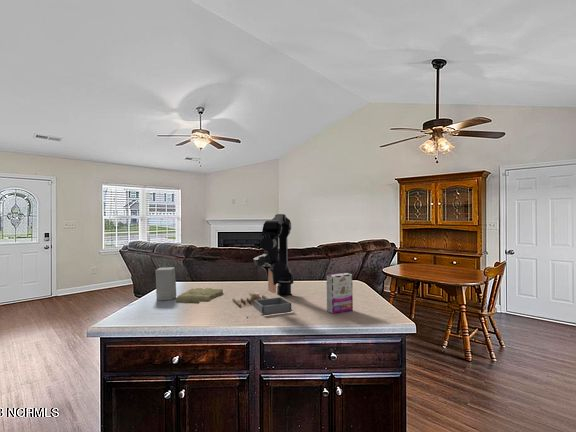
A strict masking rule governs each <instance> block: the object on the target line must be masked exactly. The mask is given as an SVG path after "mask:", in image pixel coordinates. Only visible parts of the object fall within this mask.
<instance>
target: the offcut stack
mask: <svg viewBox="0 0 576 432" xmlns="http://www.w3.org/2000/svg"><path fill="white" fill-rule="evenodd" d="M248 296H249V297H250V298H249V299H250V300H251V302H252V303H253V304H254V300H260V299H261V298H262V296H260V293H259V292H257V291H251V292H249V293H248Z"/></svg>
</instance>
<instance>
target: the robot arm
mask: <svg viewBox="0 0 576 432" xmlns="http://www.w3.org/2000/svg"><path fill="white" fill-rule="evenodd" d="M291 230H292V222H291V220H290V219H289V218H288V217H287V216H286V214H284V213H277V214H275V216H274V217H273V218H272V219H271V220H269V219H268V220H265V221H264V223H263V225H262V230H261V231H262V232H261V237H263V238H262V239H261V241H260V243H259V245H260V247H261V249H262V250H263V254H261V255H258V256H256V257H254V258H253V263H254V265H255V266H256V267H260V266H261V268H262V269H263V270H264V271H265V274H266V278H267V279H268V268H271V269H269V270H270V271H271V272H272V276H273V284H274V285H276V294H277V295H279V297H284V296H285V297H286V296H293V293H292V284H294V275H293V272H292V269H291V267H290V265H289V264H288V263H289V262H288V261H289V259H288V258H289V257H288V237H289V235H290V234H291Z"/></svg>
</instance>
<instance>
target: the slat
mask: <svg viewBox="0 0 576 432" xmlns="http://www.w3.org/2000/svg"><path fill="white" fill-rule="evenodd" d="M269 269H271V268H268V278H267V282H268V283H267V287H268V288H267V289H268V292H270V293H272V294H275V293H276V294H277V284H276V285H274V284H273V276H272V272H271V271H270V270H269Z"/></svg>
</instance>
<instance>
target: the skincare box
mask: <svg viewBox="0 0 576 432" xmlns="http://www.w3.org/2000/svg"><path fill="white" fill-rule="evenodd" d="M155 286H156V287H155V292H156V294H155V296H156V301H173V300H174V299H176V298H177V280H176V267H174V266H173V267H172V266H171V267H158V268H156V269H155Z"/></svg>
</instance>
